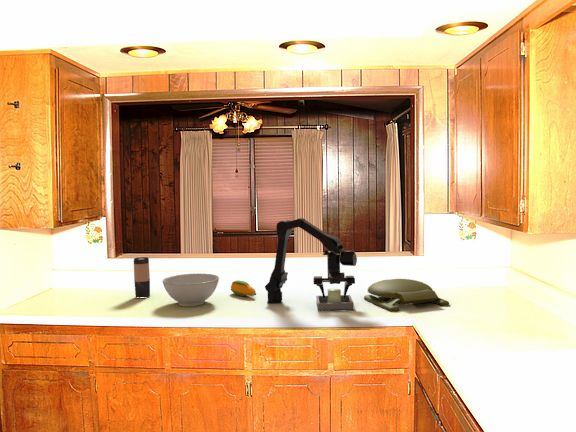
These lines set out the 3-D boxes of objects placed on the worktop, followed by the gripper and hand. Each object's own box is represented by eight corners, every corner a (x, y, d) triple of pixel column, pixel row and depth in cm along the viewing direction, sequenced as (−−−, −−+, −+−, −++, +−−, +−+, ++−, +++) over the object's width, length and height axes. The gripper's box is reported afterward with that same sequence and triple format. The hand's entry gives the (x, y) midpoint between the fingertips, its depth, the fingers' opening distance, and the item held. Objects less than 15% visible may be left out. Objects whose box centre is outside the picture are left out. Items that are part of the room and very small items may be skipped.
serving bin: (317, 311, 257) (317, 303, 257) (316, 303, 273) (316, 295, 273) (353, 310, 257) (353, 302, 257) (350, 302, 273) (350, 295, 273)
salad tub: (328, 306, 262) (327, 291, 262) (327, 303, 268) (327, 288, 268) (341, 306, 262) (341, 291, 262) (340, 303, 268) (340, 288, 268)
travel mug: (153, 296, 297) (152, 257, 295) (142, 299, 290) (141, 259, 289) (142, 294, 301) (141, 256, 299) (131, 297, 294) (130, 258, 292)
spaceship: (451, 306, 262) (451, 285, 261) (391, 313, 253) (391, 291, 252) (411, 291, 295) (411, 272, 294) (356, 297, 286) (356, 277, 285)
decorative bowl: (209, 294, 297) (208, 271, 296) (227, 305, 273) (226, 280, 272) (157, 301, 285) (156, 277, 284) (172, 312, 261) (170, 286, 260)
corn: (238, 277, 302) (261, 282, 287) (239, 291, 303) (262, 297, 288) (226, 280, 298) (248, 285, 282) (227, 294, 299) (250, 300, 283)
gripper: (313, 268, 256) (314, 303, 257) (356, 267, 255) (356, 302, 257) (313, 264, 267) (313, 297, 268) (353, 263, 266) (353, 296, 268)
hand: (334, 298), depth 265 cm, fingers open, 9 cm apart
